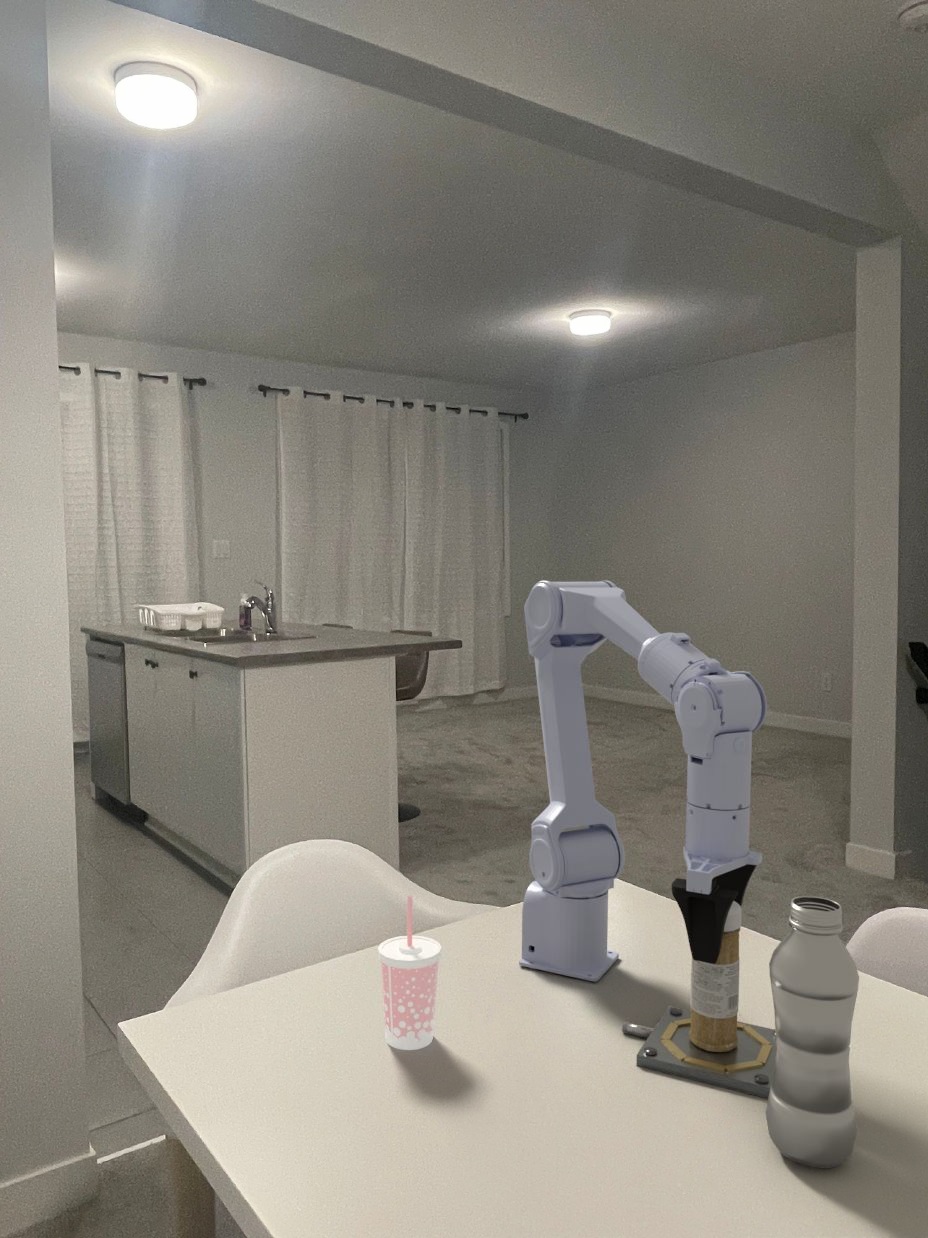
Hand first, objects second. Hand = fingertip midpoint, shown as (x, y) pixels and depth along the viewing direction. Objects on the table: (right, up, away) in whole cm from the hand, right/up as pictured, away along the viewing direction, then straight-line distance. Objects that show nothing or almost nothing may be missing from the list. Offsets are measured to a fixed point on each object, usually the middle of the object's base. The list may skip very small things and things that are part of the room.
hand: (714, 946), depth 90 cm
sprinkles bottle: (0, -10, +1) cm, 10 cm away
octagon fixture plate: (-1, -10, +1) cm, 10 cm away
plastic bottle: (+4, -12, -15) cm, 19 cm away
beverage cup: (-29, -10, +3) cm, 31 cm away
